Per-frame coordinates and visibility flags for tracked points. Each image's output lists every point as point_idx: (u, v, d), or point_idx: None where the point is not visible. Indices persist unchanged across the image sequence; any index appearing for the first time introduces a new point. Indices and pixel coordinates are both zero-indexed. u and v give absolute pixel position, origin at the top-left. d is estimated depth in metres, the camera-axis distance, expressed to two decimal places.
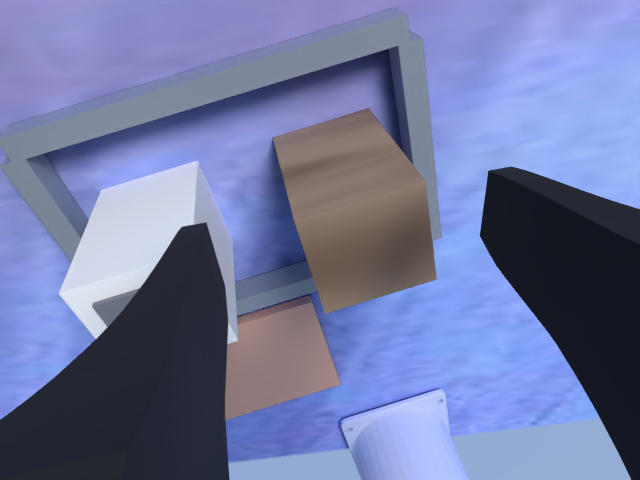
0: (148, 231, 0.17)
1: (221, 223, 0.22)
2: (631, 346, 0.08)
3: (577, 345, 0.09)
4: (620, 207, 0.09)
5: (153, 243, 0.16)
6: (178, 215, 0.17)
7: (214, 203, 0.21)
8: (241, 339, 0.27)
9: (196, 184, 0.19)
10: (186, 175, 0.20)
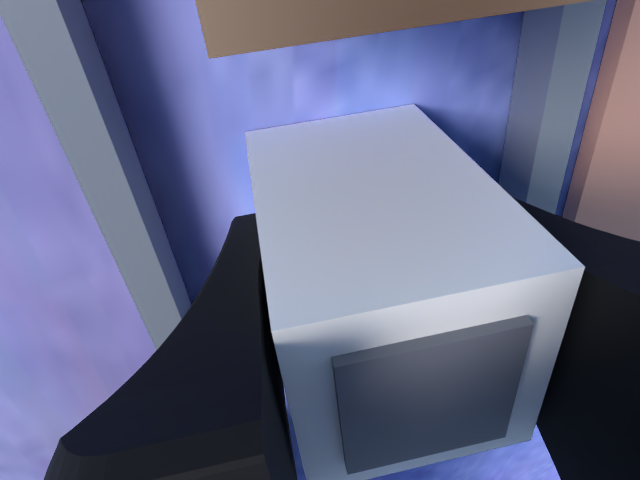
0: None
1: (366, 126, 0.11)
2: (562, 361, 0.08)
3: None
4: (556, 219, 0.09)
5: None
6: None
7: (326, 126, 0.12)
8: (635, 136, 0.13)
9: (251, 170, 0.10)
10: None
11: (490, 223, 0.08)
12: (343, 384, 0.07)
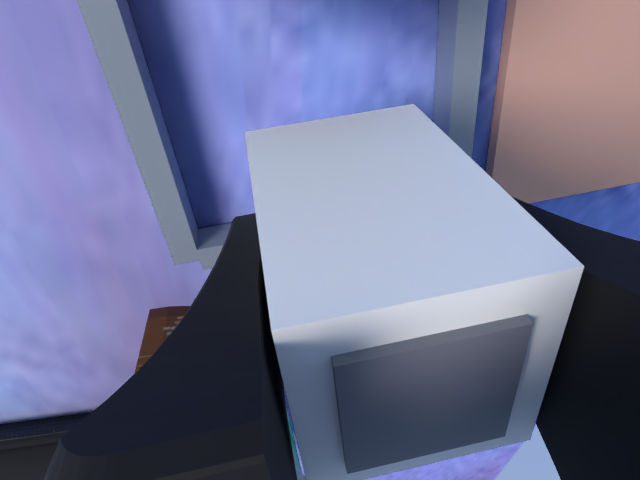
0: None
1: (365, 126, 0.11)
2: (562, 362, 0.08)
3: None
4: (556, 220, 0.09)
5: None
6: None
7: (326, 126, 0.12)
8: (534, 85, 0.17)
9: (251, 170, 0.10)
10: None
11: (490, 223, 0.08)
12: (343, 383, 0.07)
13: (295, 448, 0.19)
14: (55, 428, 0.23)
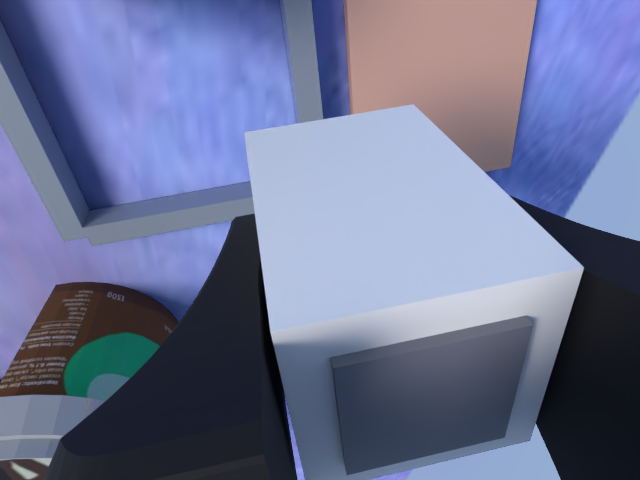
0: None
1: (365, 127, 0.11)
2: (562, 362, 0.08)
3: None
4: (556, 219, 0.09)
5: None
6: None
7: (326, 127, 0.12)
8: (379, 80, 0.20)
9: (251, 171, 0.10)
10: None
11: (489, 223, 0.08)
12: (342, 385, 0.07)
13: None
14: None
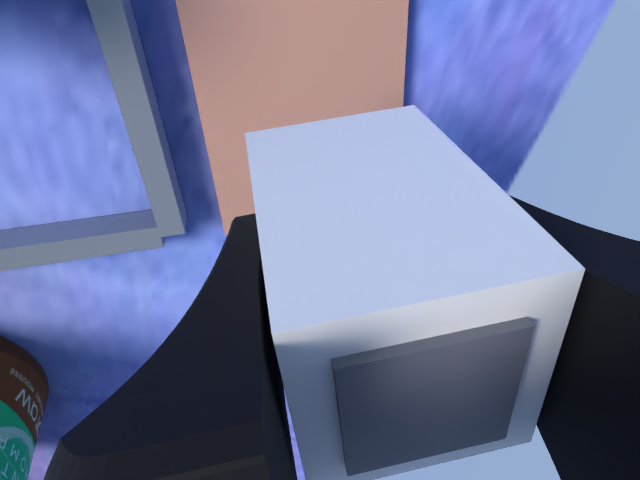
0: None
1: (366, 127, 0.11)
2: (562, 362, 0.08)
3: None
4: (556, 219, 0.09)
5: None
6: None
7: (327, 127, 0.12)
8: (233, 114, 0.18)
9: (251, 171, 0.10)
10: None
11: (490, 225, 0.08)
12: (343, 386, 0.07)
13: (7, 467, 0.19)
14: None
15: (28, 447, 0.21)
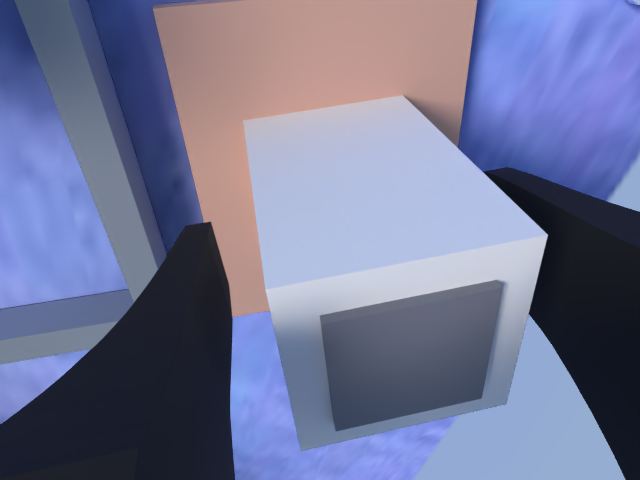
0: None
1: (356, 115, 0.12)
2: (625, 347, 0.08)
3: (572, 346, 0.09)
4: (615, 208, 0.09)
5: None
6: None
7: (320, 115, 0.12)
8: (237, 177, 0.13)
9: (249, 154, 0.11)
10: None
11: (466, 199, 0.08)
12: (330, 341, 0.07)
13: None
14: None
15: None
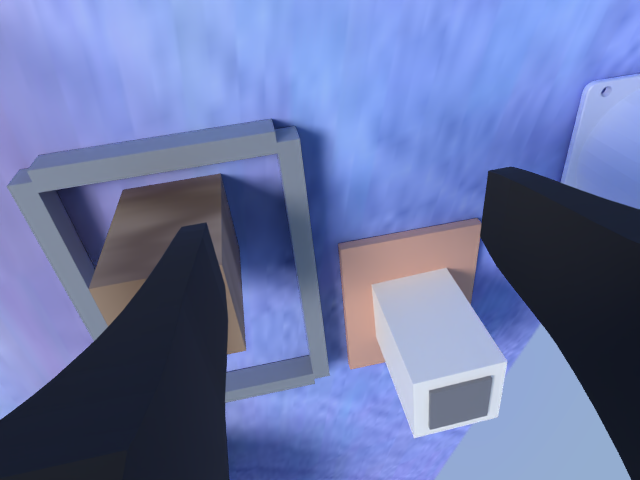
0: (399, 370, 0.24)
1: (426, 283, 0.26)
2: (631, 346, 0.08)
3: (577, 345, 0.09)
4: (620, 207, 0.09)
5: (404, 381, 0.23)
6: (395, 349, 0.23)
7: (408, 282, 0.26)
8: (365, 306, 0.27)
9: (383, 311, 0.25)
10: (377, 304, 0.26)
11: (478, 342, 0.22)
12: (432, 398, 0.21)
13: None
14: None
15: None
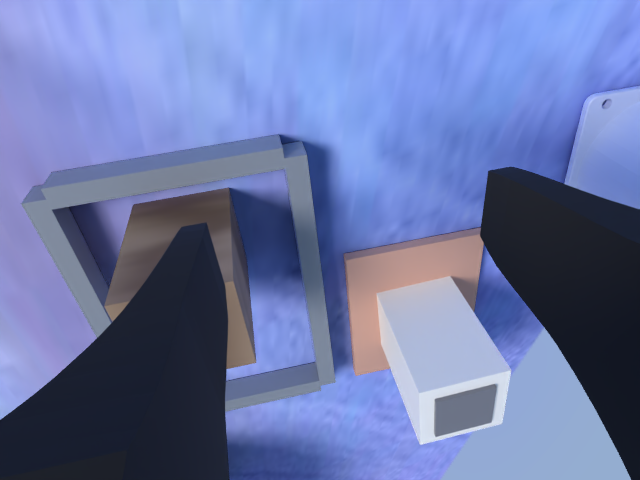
0: (404, 378, 0.24)
1: (430, 292, 0.26)
2: (631, 346, 0.08)
3: (577, 345, 0.09)
4: (620, 207, 0.09)
5: (410, 389, 0.23)
6: (401, 357, 0.24)
7: (413, 291, 0.27)
8: (370, 315, 0.28)
9: (388, 319, 0.25)
10: (383, 313, 0.26)
11: (483, 351, 0.23)
12: (438, 407, 0.22)
13: None
14: None
15: None
